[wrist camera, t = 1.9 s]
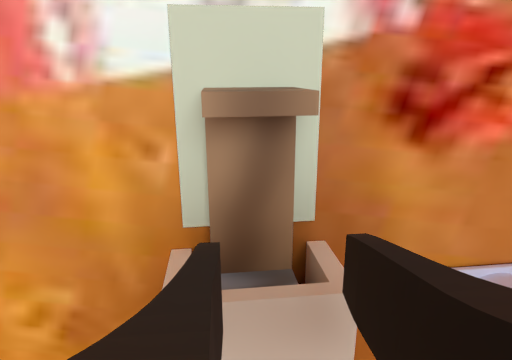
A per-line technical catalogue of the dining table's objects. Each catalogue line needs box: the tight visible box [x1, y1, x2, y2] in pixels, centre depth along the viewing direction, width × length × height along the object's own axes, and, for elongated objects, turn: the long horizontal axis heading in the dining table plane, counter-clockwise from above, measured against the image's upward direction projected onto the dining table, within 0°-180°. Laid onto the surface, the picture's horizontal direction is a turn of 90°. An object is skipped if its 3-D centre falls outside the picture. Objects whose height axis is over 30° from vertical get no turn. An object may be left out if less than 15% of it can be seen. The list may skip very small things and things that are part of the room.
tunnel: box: [162, 240, 357, 360], centre depth 20 cm, size 10×7×6 cm
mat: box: [167, 4, 324, 227], centre depth 20 cm, size 8×12×1 cm, turn 0°
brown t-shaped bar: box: [201, 87, 319, 290], centre depth 19 cm, size 5×17×5 cm, turn 0°
